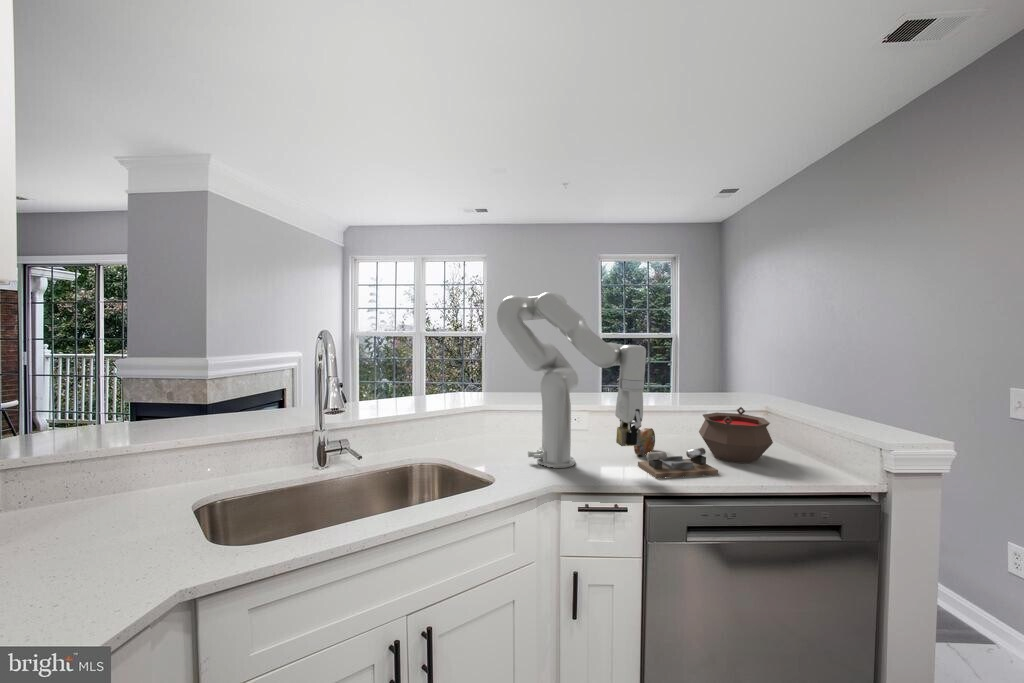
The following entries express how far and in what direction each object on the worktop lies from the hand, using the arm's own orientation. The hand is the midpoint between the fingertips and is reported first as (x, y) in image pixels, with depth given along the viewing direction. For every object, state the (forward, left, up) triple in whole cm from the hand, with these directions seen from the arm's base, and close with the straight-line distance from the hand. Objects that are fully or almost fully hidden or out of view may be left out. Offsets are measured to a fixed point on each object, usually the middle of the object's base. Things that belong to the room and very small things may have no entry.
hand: (627, 442), depth 142 cm
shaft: (+24, +1, -8) cm, 25 cm away
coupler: (0, 0, -1) cm, 1 cm away
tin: (+16, +19, -10) cm, 27 cm away
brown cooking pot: (+45, +9, -10) cm, 47 cm away
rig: (+17, -1, -10) cm, 19 cm away
